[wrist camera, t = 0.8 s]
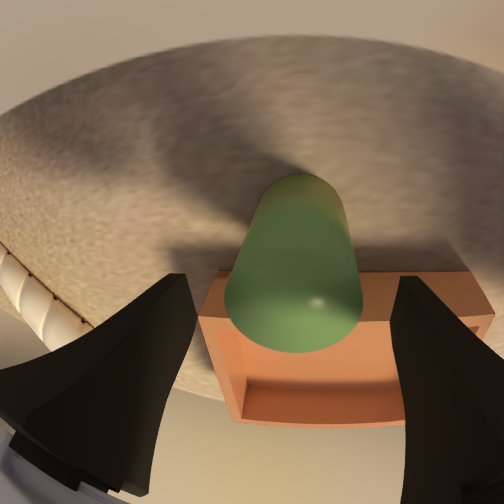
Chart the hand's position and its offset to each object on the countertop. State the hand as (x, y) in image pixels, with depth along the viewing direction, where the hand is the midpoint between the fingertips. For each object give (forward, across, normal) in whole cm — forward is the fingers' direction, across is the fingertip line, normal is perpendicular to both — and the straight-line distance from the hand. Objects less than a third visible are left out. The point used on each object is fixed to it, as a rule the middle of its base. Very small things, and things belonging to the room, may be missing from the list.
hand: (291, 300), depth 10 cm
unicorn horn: (+7, +27, +4) cm, 28 cm away
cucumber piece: (+7, 0, 0) cm, 7 cm away
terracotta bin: (+6, -3, +10) cm, 12 cm away
